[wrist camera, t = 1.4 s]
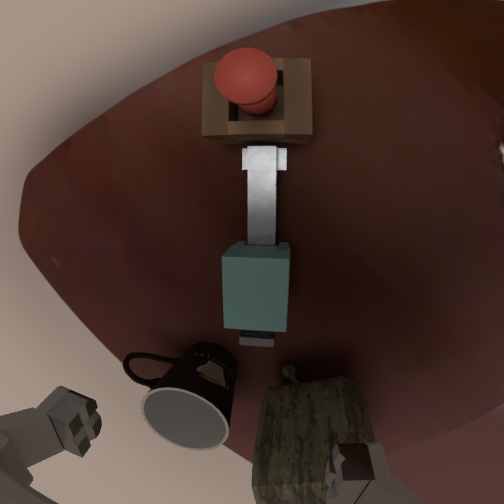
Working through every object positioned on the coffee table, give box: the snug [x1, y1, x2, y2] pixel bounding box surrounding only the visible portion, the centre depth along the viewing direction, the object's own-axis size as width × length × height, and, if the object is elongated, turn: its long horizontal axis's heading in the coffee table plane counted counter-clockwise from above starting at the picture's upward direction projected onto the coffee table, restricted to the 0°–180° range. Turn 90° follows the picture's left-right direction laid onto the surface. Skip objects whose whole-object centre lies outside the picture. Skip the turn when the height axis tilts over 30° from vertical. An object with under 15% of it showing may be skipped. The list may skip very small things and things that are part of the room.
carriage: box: [222, 241, 290, 332], centre depth 26 cm, size 5×6×6 cm
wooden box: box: [202, 58, 312, 145], centre depth 23 cm, size 8×6×7 cm
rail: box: [239, 146, 287, 347], centre depth 27 cm, size 4×17×6 cm, turn 0°
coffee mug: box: [123, 342, 237, 450], centre depth 29 cm, size 12×9×10 cm
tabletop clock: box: [252, 364, 375, 504], centre depth 21 cm, size 14×9×25 cm, turn 14°
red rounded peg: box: [214, 48, 278, 116], centre depth 18 cm, size 4×4×6 cm
